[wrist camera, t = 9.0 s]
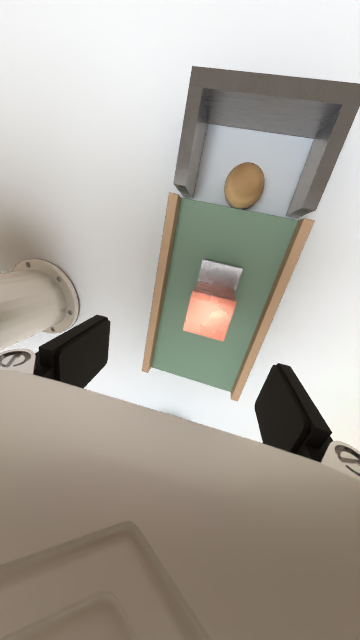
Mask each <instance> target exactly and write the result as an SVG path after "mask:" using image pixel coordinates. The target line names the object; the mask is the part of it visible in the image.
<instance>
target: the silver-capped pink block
mask: <svg viewBox="0 0 360 640" xmlns="http://www.w3.org/2000/svg"><path fill="white" fill-rule="evenodd" d="M241 273H242V268H241V267H240V266H236V265H232V264H227V263H223V262H219V261H214V260H210V259H206V258H205V259H203V260H202V264H201V268H200V273H199V277H198V281H199V282H198V284H197V285H196V286H195V288H194V289H193V290H192V294H191V298H190V302H189V307H188V311H187V315H186V319H185V324H184V328H183V330H184V331H188V332H191V333H195V334H198V335H202V336H205V337H209V338H212V339H216V340H220V341H224V338H225V335H226V332H227V329H228V326H229V323H230V320H231V317H232V314H233V311H234V308H235V305H236V297H235V293H234V290H236V288H237V285H238V282H239V279H240V276H241Z"/></svg>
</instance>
